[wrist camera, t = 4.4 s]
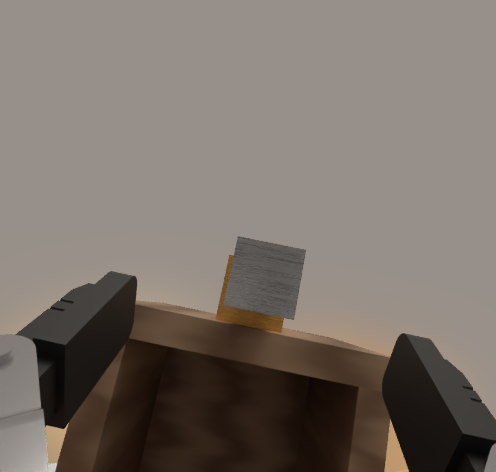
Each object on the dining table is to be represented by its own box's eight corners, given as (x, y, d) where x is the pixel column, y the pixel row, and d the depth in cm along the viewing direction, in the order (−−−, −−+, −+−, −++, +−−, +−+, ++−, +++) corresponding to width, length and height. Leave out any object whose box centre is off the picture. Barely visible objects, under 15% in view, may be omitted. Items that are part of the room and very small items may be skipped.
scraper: (318, 357, 12) (338, 228, 12) (187, 329, 12) (216, 203, 13) (270, 326, 33) (278, 279, 34) (223, 316, 33) (233, 270, 34)
